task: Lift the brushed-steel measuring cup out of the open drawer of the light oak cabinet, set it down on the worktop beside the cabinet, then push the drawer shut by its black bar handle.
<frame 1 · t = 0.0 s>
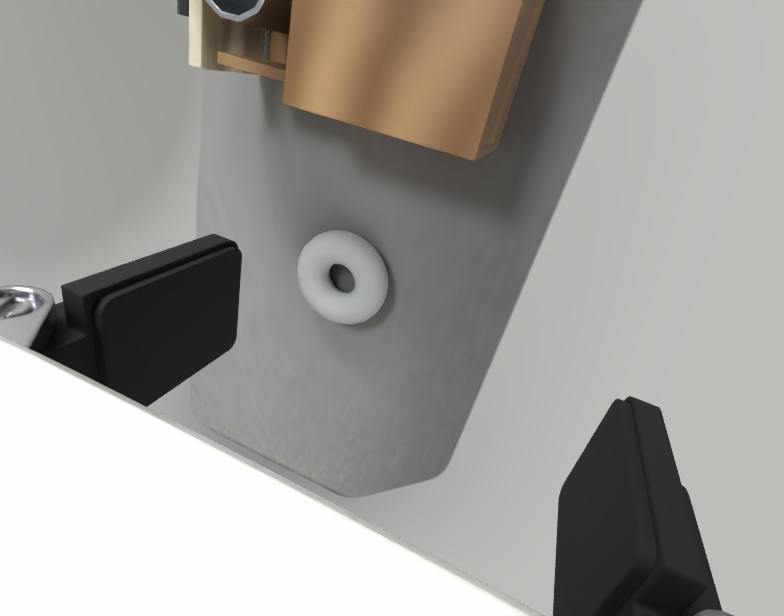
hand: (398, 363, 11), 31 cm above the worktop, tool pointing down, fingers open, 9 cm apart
donut: (349, 272, 47), on the worktop
cabinet: (439, 29, 35), on the worktop
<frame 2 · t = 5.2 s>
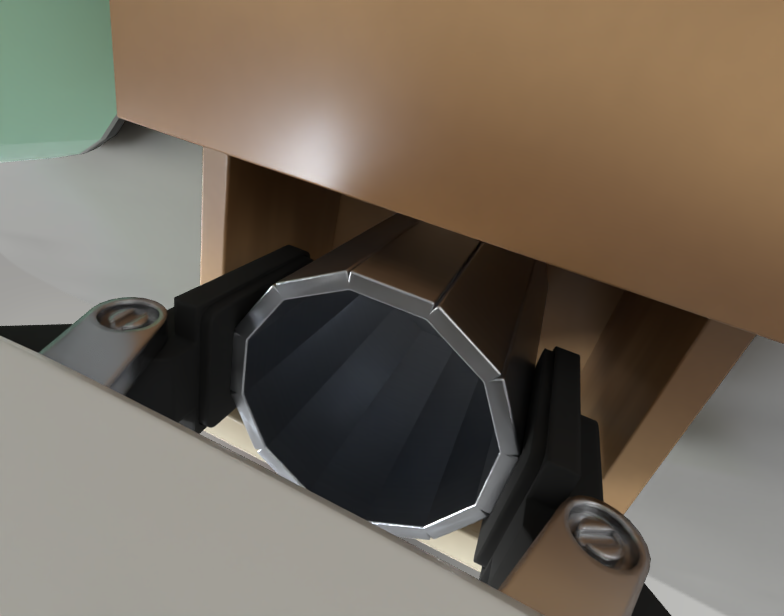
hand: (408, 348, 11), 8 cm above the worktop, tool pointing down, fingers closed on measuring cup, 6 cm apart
measuring cup: (461, 273, 16), point 2 cm above the worktop, touching drawer, gripper
juicer: (57, 13, 21), on the worktop
drawer: (435, 322, 14), point 5 cm above the worktop, slide at 8.0 cm, touching measuring cup
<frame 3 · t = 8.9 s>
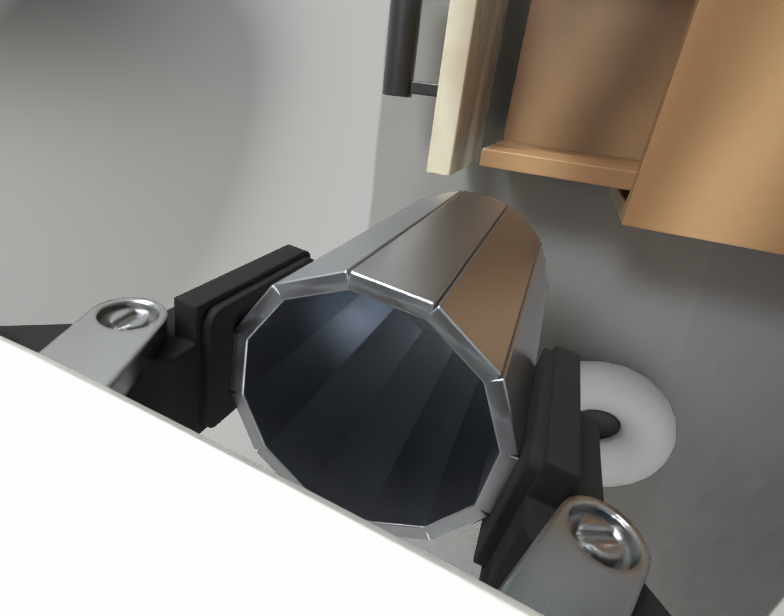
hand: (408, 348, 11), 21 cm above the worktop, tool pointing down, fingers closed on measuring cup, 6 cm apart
measuring cup: (461, 273, 16), point 15 cm above the worktop, touching gripper
donut: (594, 409, 33), on the worktop
drawer: (564, 34, 21), point 5 cm above the worktop, slide at 8.0 cm
when the fingers open (6 cm above the worktop, at t = 13.1 s): measuring cup stays where it is, on the worktop.
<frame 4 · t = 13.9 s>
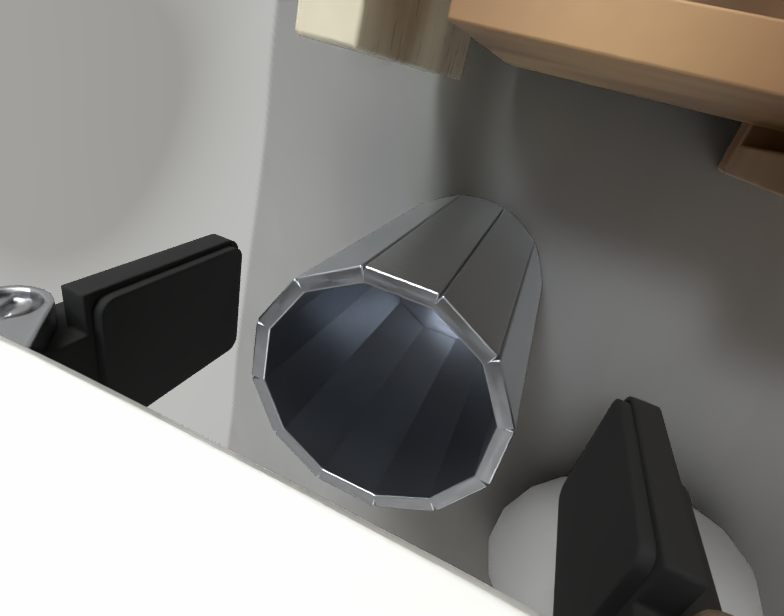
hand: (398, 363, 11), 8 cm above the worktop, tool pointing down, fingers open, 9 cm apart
measuring cup: (460, 272, 17), on the worktop
donut: (606, 545, 20), on the worktop
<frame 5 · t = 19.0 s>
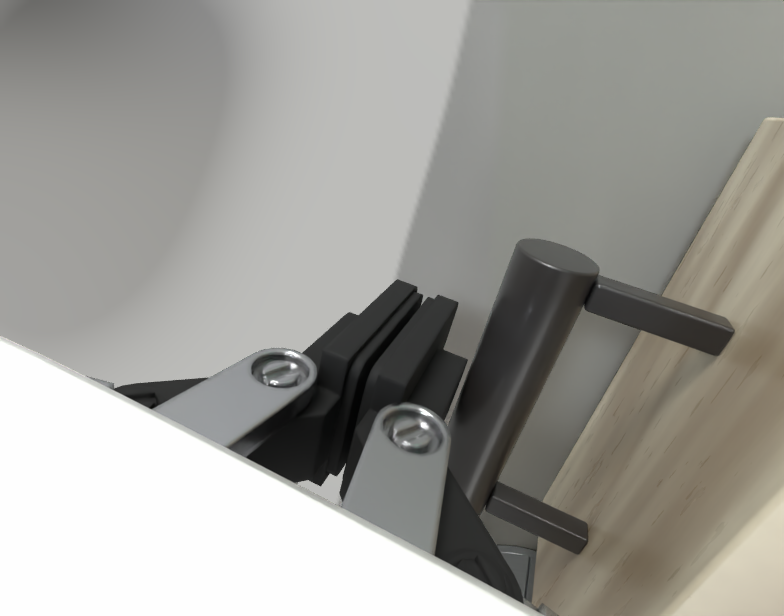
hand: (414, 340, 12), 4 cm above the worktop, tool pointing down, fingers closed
measuring cup: (524, 595, 20), on the worktop
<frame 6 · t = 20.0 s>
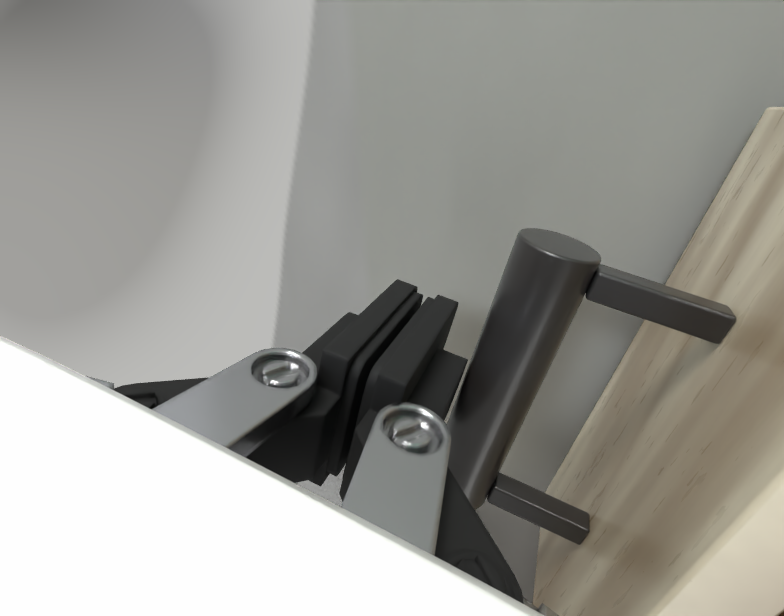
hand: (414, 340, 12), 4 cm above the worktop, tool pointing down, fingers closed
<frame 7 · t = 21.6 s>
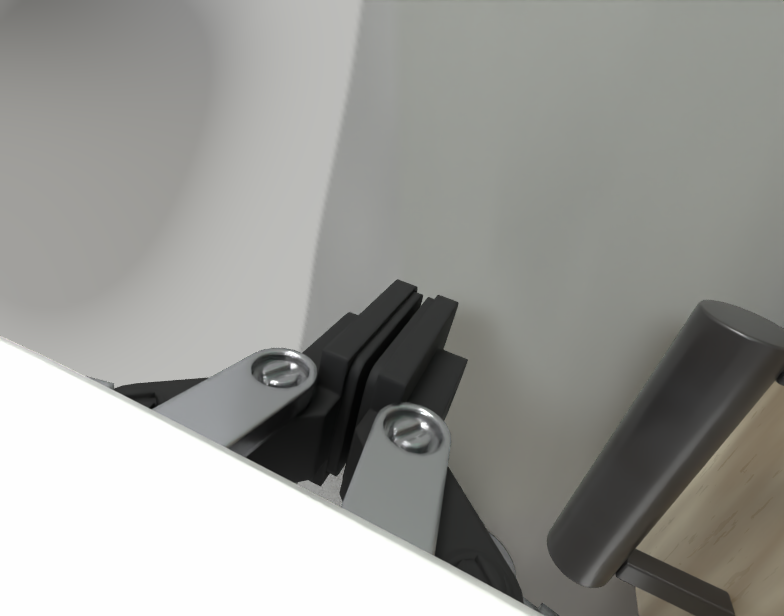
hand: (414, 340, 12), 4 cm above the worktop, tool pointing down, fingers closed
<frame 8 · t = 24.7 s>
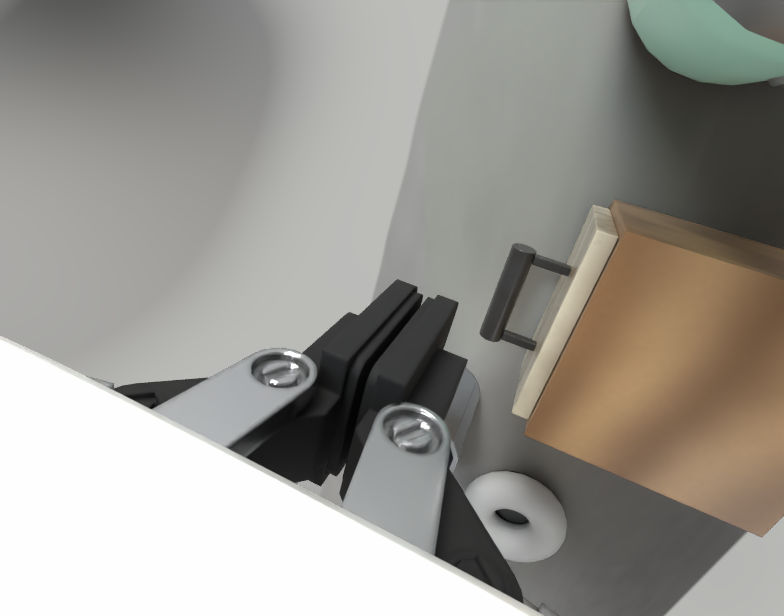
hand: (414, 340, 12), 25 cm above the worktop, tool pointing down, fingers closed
measuring cup: (448, 387, 42), on the worktop
donut: (514, 502, 45), on the worktop
cabinet: (669, 324, 33), on the worktop
drawer: (622, 333, 30), point 5 cm above the worktop, slide at 0.0 cm, touching cabinet
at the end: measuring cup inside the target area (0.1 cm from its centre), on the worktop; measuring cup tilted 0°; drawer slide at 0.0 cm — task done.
